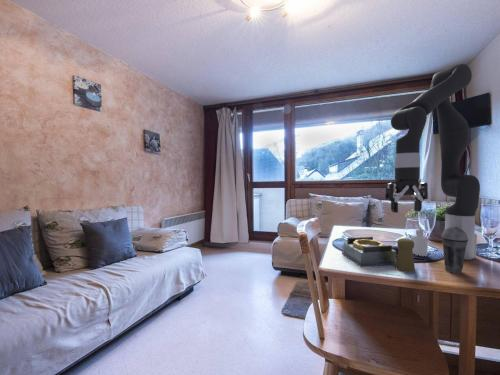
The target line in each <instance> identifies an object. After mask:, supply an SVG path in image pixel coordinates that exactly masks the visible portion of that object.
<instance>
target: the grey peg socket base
mask: <svg viewBox="0 0 500 375" xmlns="http://www.w3.org/2000/svg"><path fill="white" fill-rule="evenodd" d="M346 239H347V240H346V241H344V242H343V251H341V254H342V255H344V256H345V257H346V258H348V259H350V261H353V263H355V265H358V266H359V267H372V266H373V267H374V266H390V265H396V262H397V251H396V250H395V249H393V246H392V245H391V244H385V245H384V243H383V242H381V241H379V240H376V239H375V240H374V237H373V236H360V237H359V236H357V237H347V238H346Z"/></svg>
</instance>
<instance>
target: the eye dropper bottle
mask: <svg viewBox="0 0 500 375" xmlns="http://www.w3.org/2000/svg"><path fill="white" fill-rule="evenodd" d="M410 240H412V241H413V242H414V248H413V249H412V251H413V255H414V254H415V255H414V256H418V255H419V257H424V256H425V257H427V256H428V248H429V247H428V245H429V244H428V243H429V242H428V237H427V236H426V235H424V230H423V229H422V226H418V228H416V229H415V234H412V235H411V237H410Z"/></svg>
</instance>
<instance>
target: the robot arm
mask: <svg viewBox="0 0 500 375" xmlns="http://www.w3.org/2000/svg"><path fill="white" fill-rule="evenodd" d="M472 78H473V77H472V69H471V68H470V66H469V65H467V64H465V63H459V64H456V65H453V66H450V67H448V68H445V69H443V70H439V71H437V72H436V73H434V75H433V77H432V80H431V88H429V89H427V90H426V91H424V92H422V93H421V94H420V95H418V96H417V97H416V98H415V99H414V100H413V101H412V102H410V103H408V104H406V105H405V106H403V107H401V108H399V109H398V110H396V111H395V112H394V113H393V114H392V116H391V118H390V125H391V127H392V129H394V130H395V131H406V130H408V131H407V133H406V134H404V135H402V136H400V137H398V138H397V139H396V140H395V158H394V180H395V182H394V183H392V182H390V183H389V182H388V183H386V185H385V195H384V196H385V200H387V201H390V210H391V212H392V213H395V214H396V213H399V200H400V199H401V198H403V196H411V197H412V198H413V199H414V202H413V203H414V206H413V209H414V212H419V213H420V212H421V211H422V208H423V201H424V200H427V199H429V193H428V189H429V188H428V183H427V182H421V181H420V182H419V180H420V179H421V176H420V175H421V156H420V146H421V144H420V141H421V138H422V135H423V132H424V130H425V127H426V124H427V118H428V117H427V116H429V114H431V113H432V112H433V111H434V110H436V114H437V125H438V126H437V127H438V138H439V140H438V141H439V146H440V159H441V170H440V171H441V172H440V173H441V174H440V186H441V191H442V192H443V194H445V196H447V197H451V198H453V197H454V198H455V201H454V203H453V204H452V205H448V206H446V207H445V215H444V222H445V223H444V230H446V229H447V228H449V227H452V215H454V227H458V228H460V229H462V230H463V231H464V232H465V233H466V234H467V237H468V242H467V246H466V250H465V256H464V261H465V260H467V261H469V260H471V261H472V260H474V259H476V258H477V243H478V242H477V238H478V235H477V233H475V231H476V211H477V209H478V208H479V202H480V201H479V200H480V194H481V184H480V180H479V179H478V178H477V177H476V176H475V175H471V174H461V172H460V171H461V169H460V163H461V159H462V157H463V155H464V153H465V151H466V149H467V148H468V146H469V143H470V128H469V123H468V121H467V120H466V118H465V117H463V115H462V114H461V113H460V112H459V111H458V110H456V108H454V106H453V104H452V103H451V100H450V97H451V96H453V95H454V94H456V93H457V92H459V91H461V90H463V89H464V88H466V87H468V85H470V83H471V81H472Z"/></svg>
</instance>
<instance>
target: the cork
mask: <svg viewBox="0 0 500 375" xmlns="http://www.w3.org/2000/svg"><path fill="white" fill-rule="evenodd" d="M396 245H397V247H398V251H397V252H398V253H397V255H396V261H397V262H396V264H395V269H396V270H398V271H400V272H403V273H414V272H415V271H416V267H415V258H414V254H413V251H412V249H413V248H414V242H413V241H412V240H411V238H404V237H403V238H398V240H397V242H396Z"/></svg>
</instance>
